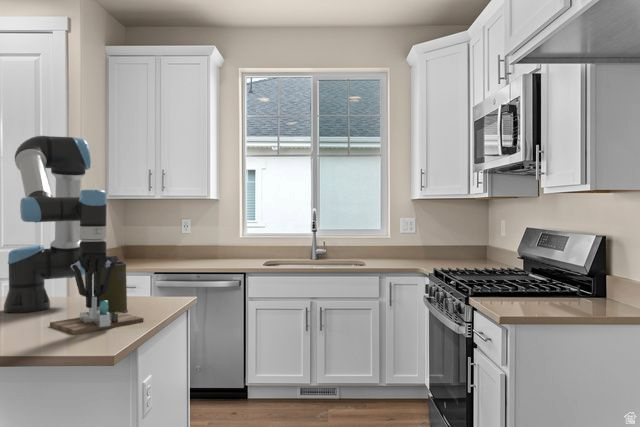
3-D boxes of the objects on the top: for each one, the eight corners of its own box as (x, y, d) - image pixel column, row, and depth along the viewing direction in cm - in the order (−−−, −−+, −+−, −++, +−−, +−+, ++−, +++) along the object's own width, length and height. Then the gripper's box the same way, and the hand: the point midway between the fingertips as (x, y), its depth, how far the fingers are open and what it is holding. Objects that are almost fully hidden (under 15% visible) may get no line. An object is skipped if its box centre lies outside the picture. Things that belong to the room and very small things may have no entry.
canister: (116, 315, 182) (115, 257, 182) (89, 314, 185) (88, 257, 184) (134, 309, 193) (132, 254, 193) (108, 309, 195) (107, 254, 195)
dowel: (110, 326, 166) (109, 313, 166) (116, 324, 167) (116, 312, 167) (113, 326, 164) (112, 314, 164) (119, 325, 166) (119, 313, 166)
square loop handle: (79, 319, 170) (79, 295, 170) (106, 315, 175) (105, 293, 175) (90, 328, 156) (90, 302, 156) (119, 324, 160) (118, 299, 160)
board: (49, 326, 167) (49, 303, 167) (116, 314, 184) (116, 294, 184) (74, 334, 155) (74, 310, 155) (143, 321, 172) (143, 299, 172)
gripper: (75, 241, 154) (75, 323, 154) (119, 240, 163) (118, 317, 163) (66, 240, 160) (66, 319, 160) (109, 239, 169) (108, 313, 168)
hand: (92, 318), depth 161 cm, fingers closed
